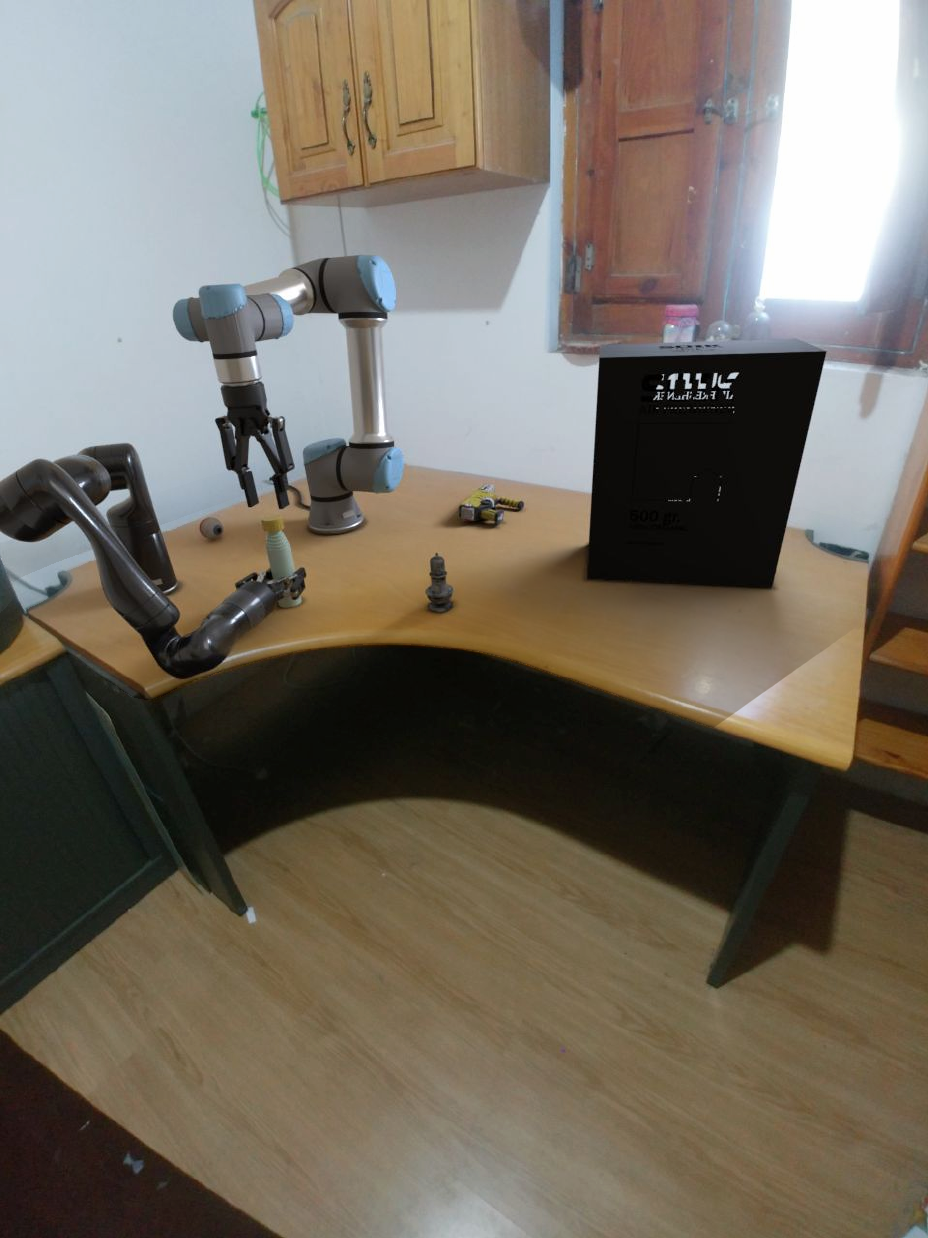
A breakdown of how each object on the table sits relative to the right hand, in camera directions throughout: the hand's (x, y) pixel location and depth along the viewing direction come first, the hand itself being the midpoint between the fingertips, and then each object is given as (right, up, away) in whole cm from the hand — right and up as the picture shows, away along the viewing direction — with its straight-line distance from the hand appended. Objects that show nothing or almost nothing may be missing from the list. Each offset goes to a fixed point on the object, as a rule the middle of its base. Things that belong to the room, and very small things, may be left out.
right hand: (268, 505), depth 119 cm
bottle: (+1, -19, +11) cm, 22 cm away
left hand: (+1, -12, +10) cm, 16 cm away
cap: (0, -2, +1) cm, 3 cm away
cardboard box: (+86, -10, +18) cm, 88 cm away
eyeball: (-30, -1, +45) cm, 54 cm away
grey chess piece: (+34, -20, +6) cm, 40 cm away
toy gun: (+48, +8, +53) cm, 72 cm away
